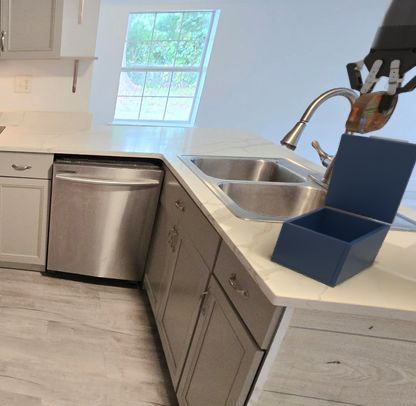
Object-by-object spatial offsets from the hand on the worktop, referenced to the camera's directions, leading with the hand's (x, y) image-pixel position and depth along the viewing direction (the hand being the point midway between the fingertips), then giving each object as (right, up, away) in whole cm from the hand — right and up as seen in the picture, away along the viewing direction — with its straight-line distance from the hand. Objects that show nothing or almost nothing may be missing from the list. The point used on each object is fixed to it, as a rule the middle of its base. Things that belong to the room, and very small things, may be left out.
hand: (372, 111), depth 79 cm
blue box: (-2, -35, +10) cm, 36 cm away
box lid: (+4, -14, +5) cm, 16 cm away
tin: (0, -4, +2) cm, 4 cm away
